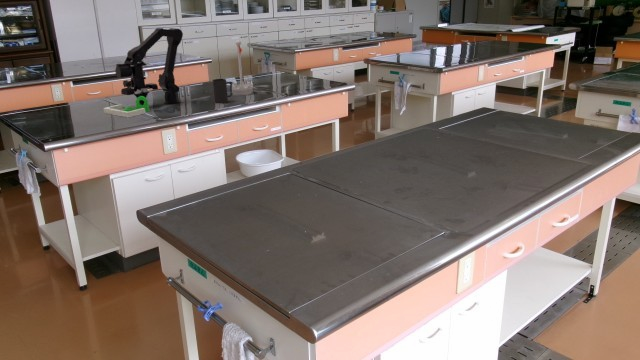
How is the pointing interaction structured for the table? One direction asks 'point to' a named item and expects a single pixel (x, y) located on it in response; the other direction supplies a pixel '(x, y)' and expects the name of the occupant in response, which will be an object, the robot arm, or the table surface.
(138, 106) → the mechanical part
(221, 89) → the mug
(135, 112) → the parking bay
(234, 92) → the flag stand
